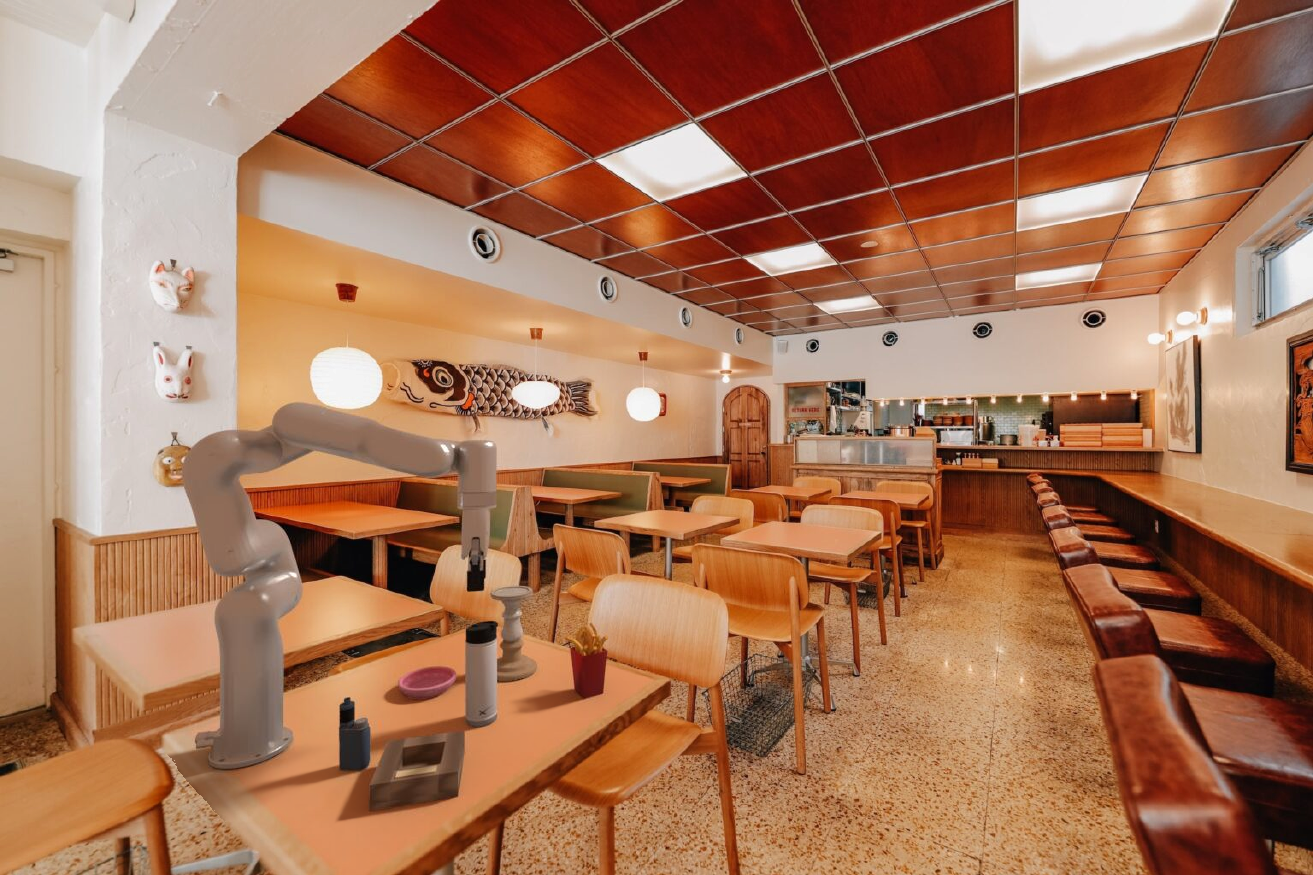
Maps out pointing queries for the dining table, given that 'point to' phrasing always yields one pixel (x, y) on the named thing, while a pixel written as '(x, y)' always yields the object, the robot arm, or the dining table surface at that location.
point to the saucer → (427, 682)
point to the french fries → (588, 662)
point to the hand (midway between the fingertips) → (476, 584)
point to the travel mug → (481, 674)
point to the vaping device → (353, 738)
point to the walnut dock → (418, 770)
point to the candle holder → (512, 635)
